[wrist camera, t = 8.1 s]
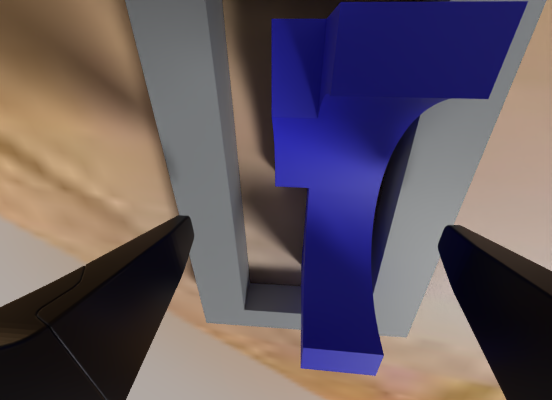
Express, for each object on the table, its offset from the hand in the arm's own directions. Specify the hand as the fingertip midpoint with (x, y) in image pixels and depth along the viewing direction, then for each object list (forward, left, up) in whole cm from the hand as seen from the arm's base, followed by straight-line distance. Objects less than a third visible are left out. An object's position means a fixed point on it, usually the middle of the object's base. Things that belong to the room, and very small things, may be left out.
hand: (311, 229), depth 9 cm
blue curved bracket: (-1, 0, -4) cm, 4 cm away
